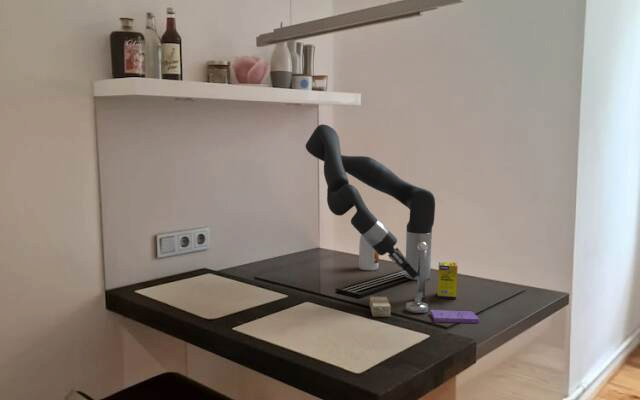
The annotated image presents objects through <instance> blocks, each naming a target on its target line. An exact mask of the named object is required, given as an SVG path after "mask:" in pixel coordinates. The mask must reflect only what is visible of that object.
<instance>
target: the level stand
mask: <svg viewBox="0 0 640 400" xmlns="http://www.w3.org/2000/svg"><path fill="white" fill-rule="evenodd" d="M369 308H370V311H371V314H372V317H380V318H381V317H389V318H391V310H392V309H391V308H392V307H391V303H390V302H389V300H388V298H387V296H369Z"/></svg>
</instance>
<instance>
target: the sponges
mask: <svg viewBox="0 0 640 400" xmlns="http://www.w3.org/2000/svg"><path fill="white" fill-rule="evenodd" d="M430 316H431V318H432V320H433V321H434V323H435V322H436V323H462V324H463V323H464V324H465V323H466V324H469V323H471V324H478V323H480V318H479V317H478V316H477V315H476V314H475V313H474V311H470V310H469V311H464V310H460V311H459V310H444V309H443V310H441V309H440V310H438V309H430Z"/></svg>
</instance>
